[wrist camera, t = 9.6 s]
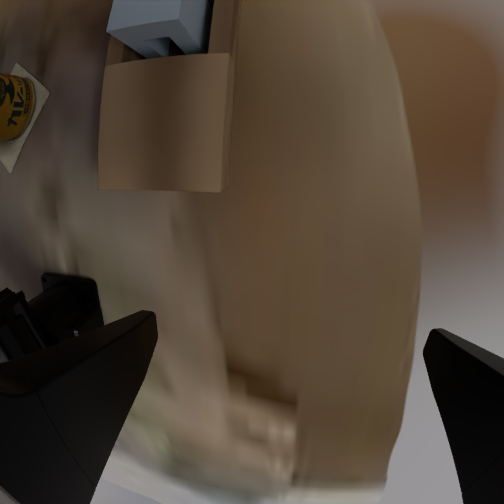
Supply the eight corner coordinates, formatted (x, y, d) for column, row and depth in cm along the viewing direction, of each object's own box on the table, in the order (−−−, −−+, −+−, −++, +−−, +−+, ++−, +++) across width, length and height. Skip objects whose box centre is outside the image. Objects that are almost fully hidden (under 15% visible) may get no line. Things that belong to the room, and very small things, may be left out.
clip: (152, 62, 17) (106, 31, 11) (159, 16, 16) (120, -24, 9) (207, 58, 17) (178, 19, 10) (212, 11, 15) (189, -38, 9)
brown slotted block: (119, 184, 20) (98, 190, 17) (149, -41, 14) (136, -59, 11) (228, 187, 19) (220, 192, 16) (247, -53, 13) (243, -74, 10)
